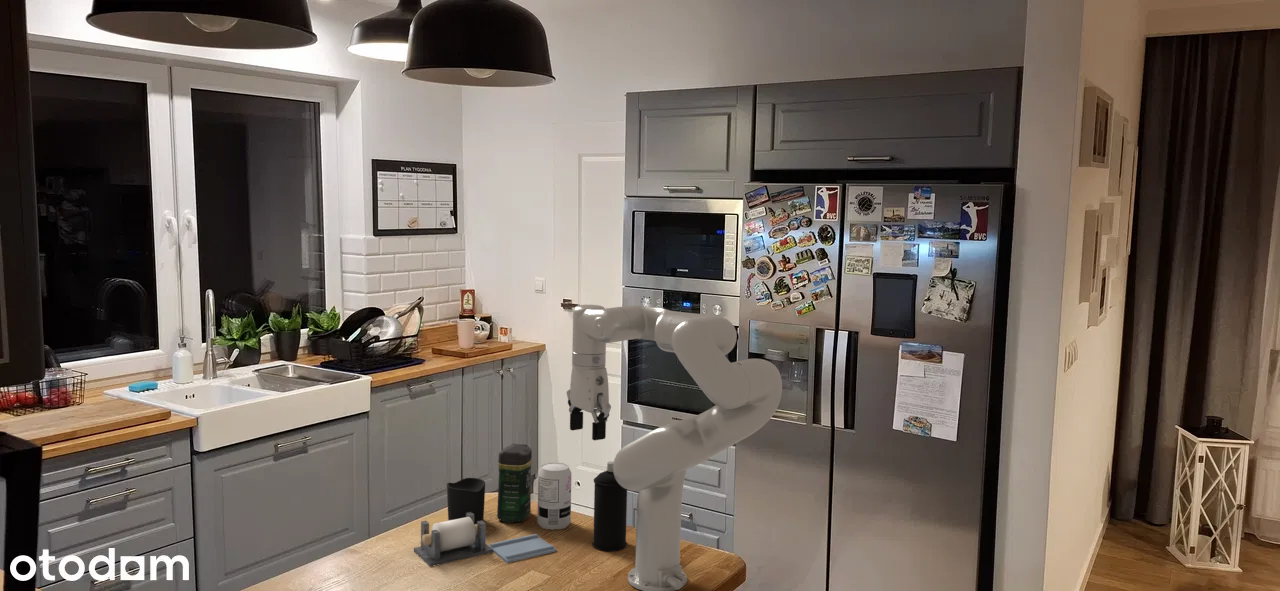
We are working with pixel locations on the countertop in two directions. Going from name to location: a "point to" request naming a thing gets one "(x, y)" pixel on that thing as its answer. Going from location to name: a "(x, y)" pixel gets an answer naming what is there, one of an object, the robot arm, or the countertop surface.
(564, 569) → the countertop surface
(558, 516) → the supplement can
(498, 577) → the countertop surface
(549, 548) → the rest
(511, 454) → the coffee jar
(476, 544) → the holder
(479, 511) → the pen holder
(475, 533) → the paper roll
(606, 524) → the aerosol can
